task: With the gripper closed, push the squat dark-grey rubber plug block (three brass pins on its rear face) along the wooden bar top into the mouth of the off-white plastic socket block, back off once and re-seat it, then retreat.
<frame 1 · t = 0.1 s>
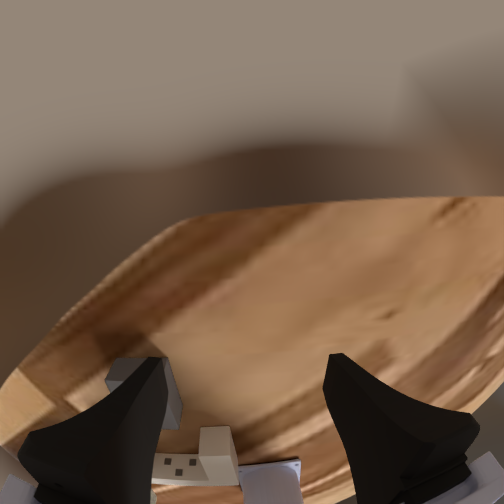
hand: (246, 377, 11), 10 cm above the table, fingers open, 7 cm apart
socket block: (176, 445, 26), on the table
plug: (150, 381, 23), on the table
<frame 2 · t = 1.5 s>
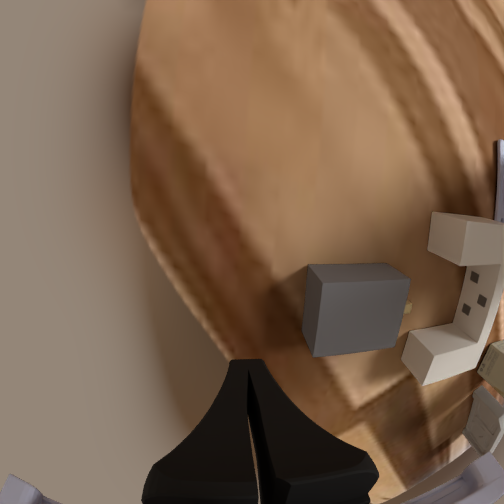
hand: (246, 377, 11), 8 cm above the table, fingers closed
socket block: (447, 289, 20), on the table
light switch: (470, 410, 27), on the table
skincare box: (494, 353, 24), on the table
plug: (344, 296, 19), on the table
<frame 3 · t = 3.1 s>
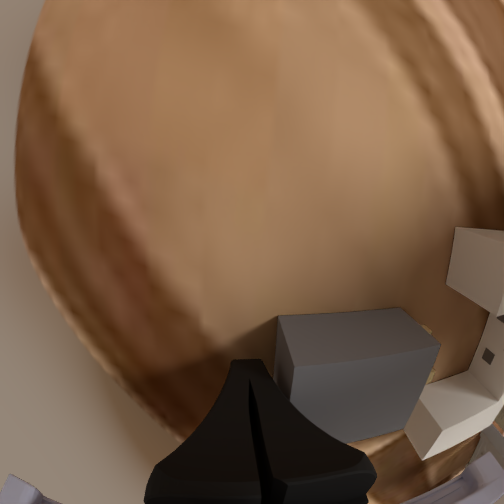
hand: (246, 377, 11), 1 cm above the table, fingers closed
socket block: (467, 332, 13), on the table
light switch: (476, 446, 20), on the table
plug: (336, 357, 13), on the table, touching gripper
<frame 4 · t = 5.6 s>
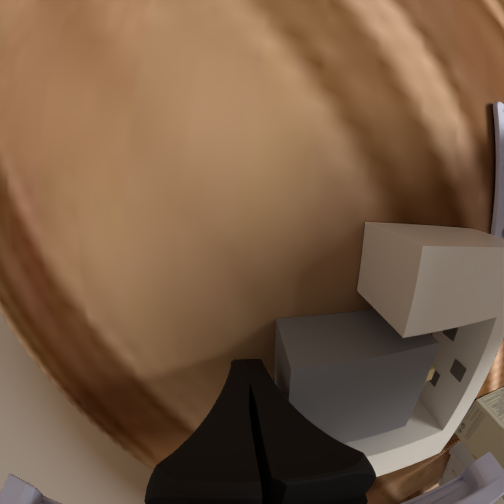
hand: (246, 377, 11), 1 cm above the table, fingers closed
socket block: (402, 347, 13), on the table
light switch: (448, 462, 20), on the table
skincare box: (480, 406, 17), on the table
plug: (336, 357, 13), on the table, touching gripper
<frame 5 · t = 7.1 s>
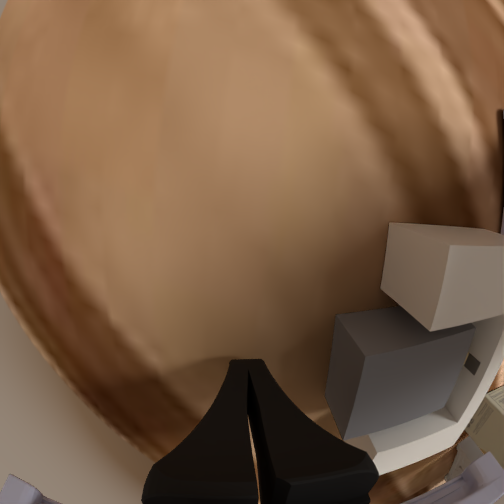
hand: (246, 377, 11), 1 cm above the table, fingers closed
socket block: (419, 343, 13), on the table
light switch: (454, 458, 20), on the table
skincare box: (487, 402, 17), on the table
plug: (382, 347, 13), on the table
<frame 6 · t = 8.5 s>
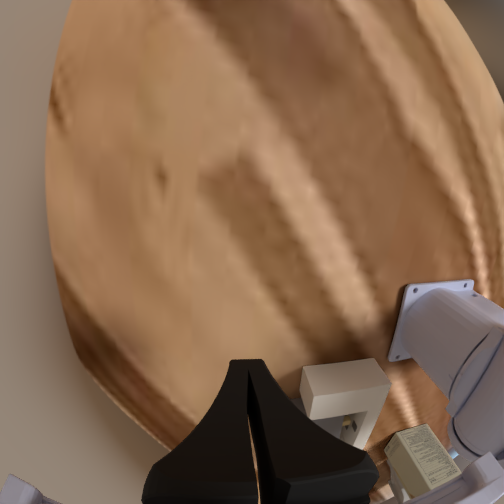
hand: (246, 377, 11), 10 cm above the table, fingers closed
socket block: (328, 410, 25), on the table
light switch: (391, 469, 32), on the table
skincare box: (405, 435, 29), on the table
plug: (303, 411, 25), on the table
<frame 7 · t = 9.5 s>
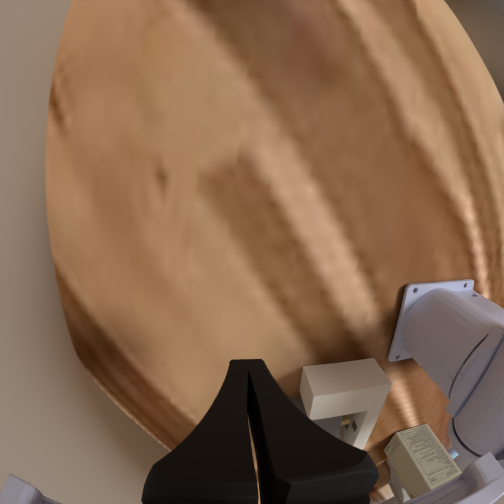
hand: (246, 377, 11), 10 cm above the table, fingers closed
socket block: (328, 410, 25), on the table
light switch: (391, 469, 32), on the table
skincare box: (405, 435, 29), on the table
plug: (302, 412, 25), on the table
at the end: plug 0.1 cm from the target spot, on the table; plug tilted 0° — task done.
